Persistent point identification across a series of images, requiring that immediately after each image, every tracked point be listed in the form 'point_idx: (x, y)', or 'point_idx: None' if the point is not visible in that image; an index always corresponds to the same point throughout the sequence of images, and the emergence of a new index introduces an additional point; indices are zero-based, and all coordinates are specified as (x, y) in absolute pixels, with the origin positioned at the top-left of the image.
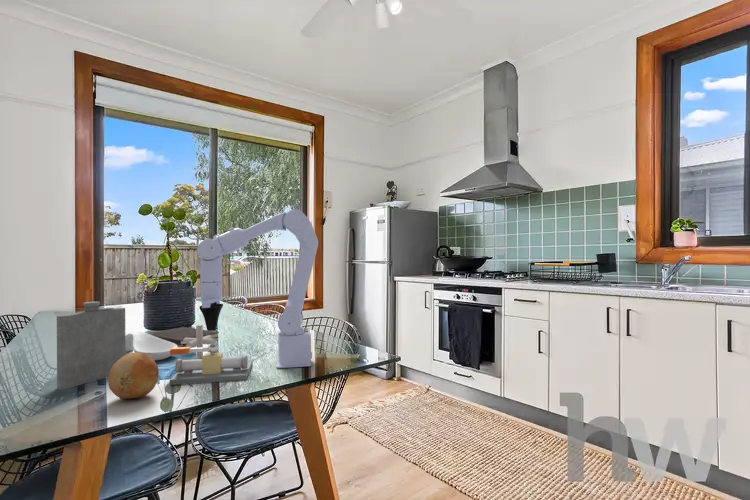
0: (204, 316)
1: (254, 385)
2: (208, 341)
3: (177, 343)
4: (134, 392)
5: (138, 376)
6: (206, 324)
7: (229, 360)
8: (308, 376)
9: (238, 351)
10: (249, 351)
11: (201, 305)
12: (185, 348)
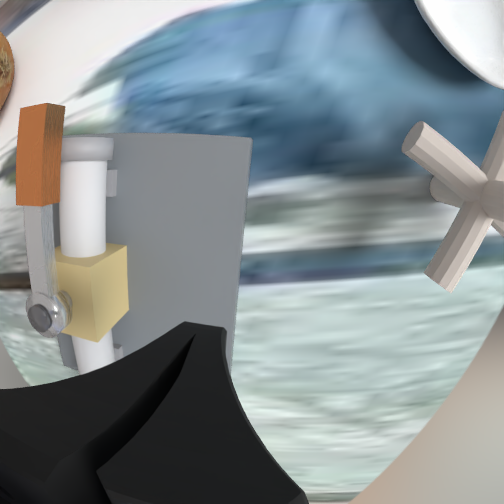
0: (82, 382)
1: (37, 365)
2: (442, 253)
3: None
4: None
5: None
6: (153, 345)
7: (74, 348)
8: None
9: (463, 341)
10: (439, 378)
11: (37, 489)
12: (16, 186)
